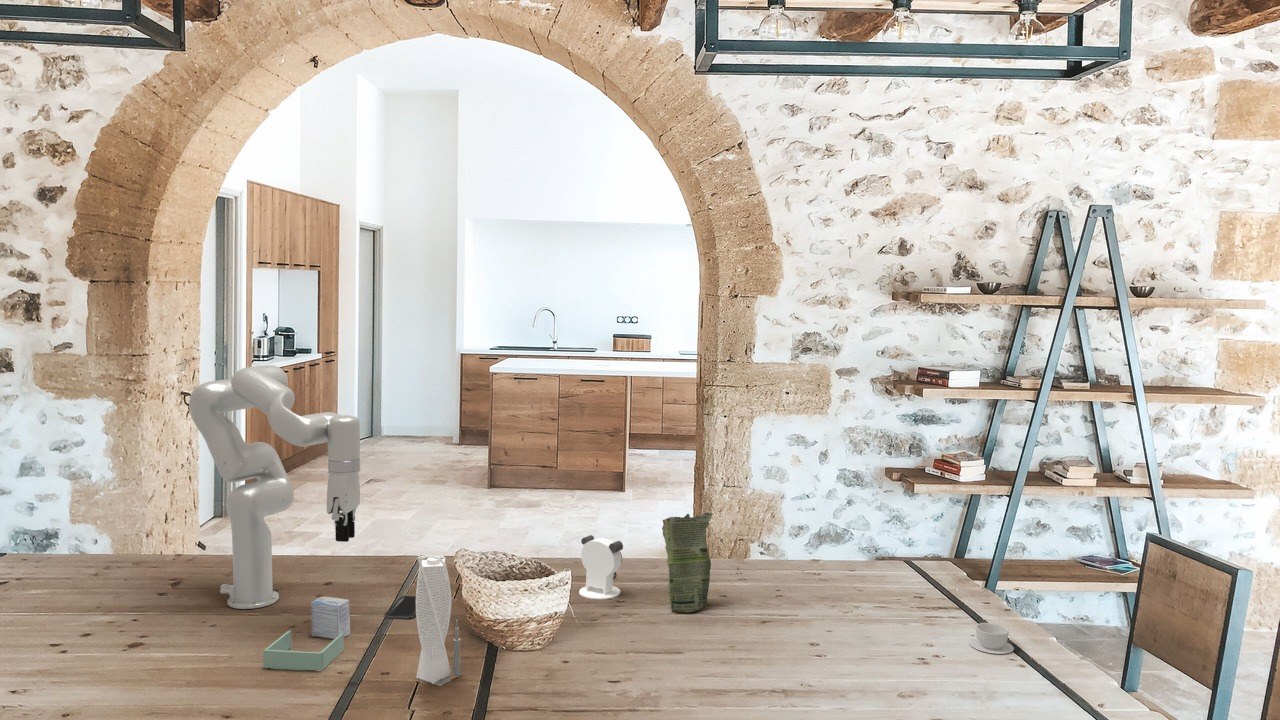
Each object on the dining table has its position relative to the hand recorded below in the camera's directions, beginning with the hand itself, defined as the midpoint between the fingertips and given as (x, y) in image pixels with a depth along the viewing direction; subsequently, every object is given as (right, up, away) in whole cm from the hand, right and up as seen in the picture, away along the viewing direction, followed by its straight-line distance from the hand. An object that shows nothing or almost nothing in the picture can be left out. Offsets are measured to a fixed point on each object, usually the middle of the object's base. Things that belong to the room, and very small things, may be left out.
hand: (345, 538), depth 231 cm
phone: (+13, -21, +12) cm, 27 cm away
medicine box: (-1, -22, -7) cm, 23 cm away
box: (-2, -23, -21) cm, 31 cm away
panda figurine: (+62, -20, +26) cm, 70 cm away
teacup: (+157, -24, -9) cm, 159 cm away
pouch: (+85, -21, +16) cm, 89 cm away
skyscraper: (+29, -25, -30) cm, 48 cm away
